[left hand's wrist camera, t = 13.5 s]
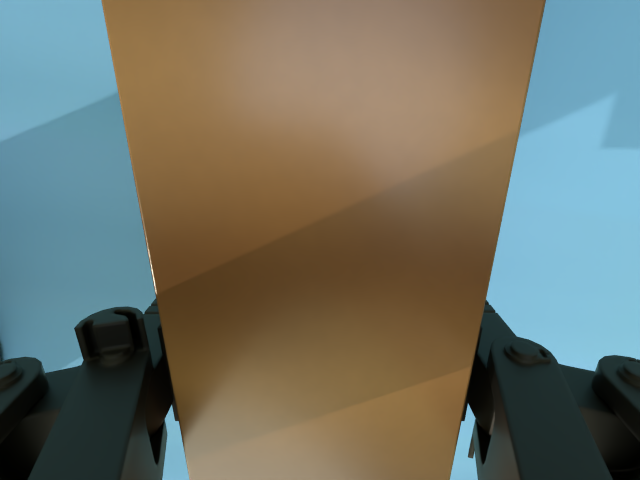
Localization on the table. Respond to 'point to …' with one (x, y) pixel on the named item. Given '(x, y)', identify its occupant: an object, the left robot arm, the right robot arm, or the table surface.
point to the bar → (321, 219)
